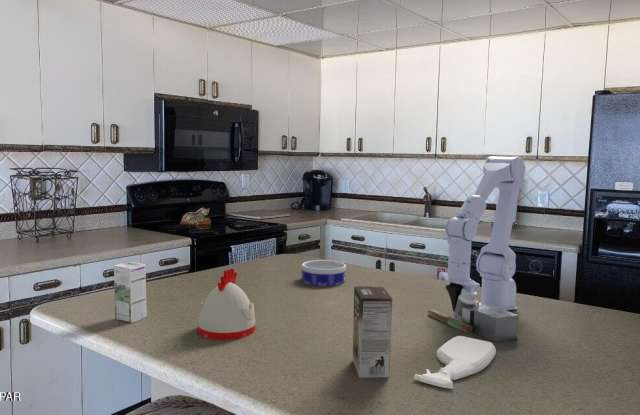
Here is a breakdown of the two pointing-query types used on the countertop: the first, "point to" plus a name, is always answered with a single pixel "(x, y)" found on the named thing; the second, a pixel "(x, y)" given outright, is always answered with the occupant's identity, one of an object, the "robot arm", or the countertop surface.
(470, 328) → the gauge rails
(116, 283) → the syrup box
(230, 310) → the kitchen timer
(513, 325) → the block
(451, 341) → the spray bottle
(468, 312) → the small grey block
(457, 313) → the pill bottle
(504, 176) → the robot arm
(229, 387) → the countertop surface
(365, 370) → the coffee box
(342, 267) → the dog bowl
